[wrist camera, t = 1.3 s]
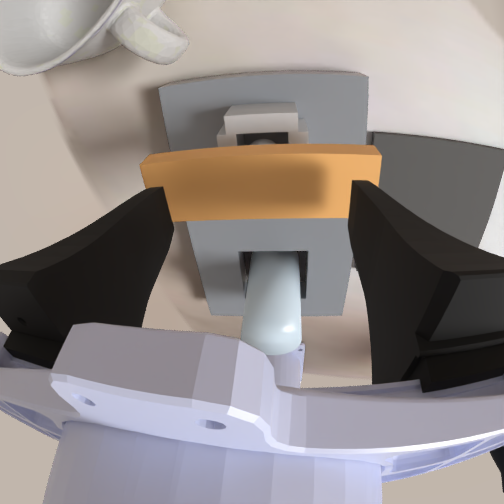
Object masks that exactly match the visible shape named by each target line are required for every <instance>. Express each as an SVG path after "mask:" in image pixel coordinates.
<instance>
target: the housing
mask: <svg viewBox="0 0 504 504" xmlns="http://www.w3.org/2000/svg"><path fill="white" fill-rule="evenodd" d="M158 90H159V95H160V101H161V106H162V112H163V117H164V122H165V127H166V132H167V137H168V142H169V147H170V152H174V151H183V150H192V149H203V148H215V147H228V146H244V145H250V144H251V143H253V142H254V141H256V140H259V139H268V140H271V141H273V142H275V143H276V144H357V145H366V134H367V114H368V76H366V75H364V74H361V73H355V72H338V71H269V72H252V73H239V74H228V75H219V76H211V77H203V78H196V79H189V80H183V81H177V82H171V83H168V84H166V85H164V86H161V87H159V88H158ZM186 223H187V227H188V231H189V235H190V239H191V243H192V247H193V251H194V254H195V258H196V262H197V266H198V270H199V273H200V277H201V281H202V284H203V288H204V292H205V295H206V299H207V302H208V306H209V309H210V313H211V315H221V316H243V315H244V308H245V300H246V293H247V285H248V282H247V278H246V271H245V263H244V256H243V251H306V275H305V282H300V298H301V316H339V315H342V313H343V308H344V303H345V298H346V292H347V287H348V282H349V276H350V270H351V264H352V258H353V253H352V249H351V245H350V239H349V232H348V226H347V225H348V218H286V219H237V220H205V221H186Z"/></svg>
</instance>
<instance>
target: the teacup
mask: <svg viewBox="0 0 504 504" xmlns="http://www.w3.org/2000/svg"><path fill="white" fill-rule="evenodd" d="M164 2H165V0H0V70H2V71H3V72H6V73H8V74H12V75H15V76H28V75H32V74H38V73H41V72H44V71H47V70H49V69H52V68H54V67H56V66H60V65H65V64H69V63H74V62H78V61H82V60H86V59H89V58H93V57H96V56H99V55H101V54H104V53H107V52H109V51H111V50H113V49H115V48H117V47H119V46H120V45H123V46H124V47H126V48H127V49H128V50H130V51H131V52H133V53H134V54H136V55H138V56H140V57H142V58H144V59H145V60H148V61H150V62H153V63H156V64H162V65H168V64H171V63H174V62H175V61H177V60H178V59H179V58H180V57H181V55H182V54H183V53H184V52H185V51H186V49H187V47H188V45H189V39H188V36H187V35H186V34H185V32H184V31H183V30H182V29H181V28H180V27H179V26H178V25H177V24H176V23H175V22H173V21H172V20H171V19H170V18H169V17H167V16H166V14H165V13H164V12H163V11H162V10H161V7H162V5H163V4H164Z"/></svg>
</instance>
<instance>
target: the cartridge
mask: <svg viewBox="0 0 504 504" xmlns="http://www.w3.org/2000/svg"><path fill="white" fill-rule="evenodd" d="M241 340H242V341H244V342H246V343H248V344H250V345H252V346H254V347H256V348H258V349H260V350H261V351H262V352H264V353H265V355H282V354H286V353H289V352H291V351H293V350H295V349H296V348H297V347H298V346H299V345H300V343H301V340H302V338H301V298H300V271H299V256H298V253H297V251H253V253H252V255H251V263H250V270H249V278H248V285H247V293H246V300H245V308H244V315H243V323H242V330H241Z"/></svg>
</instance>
